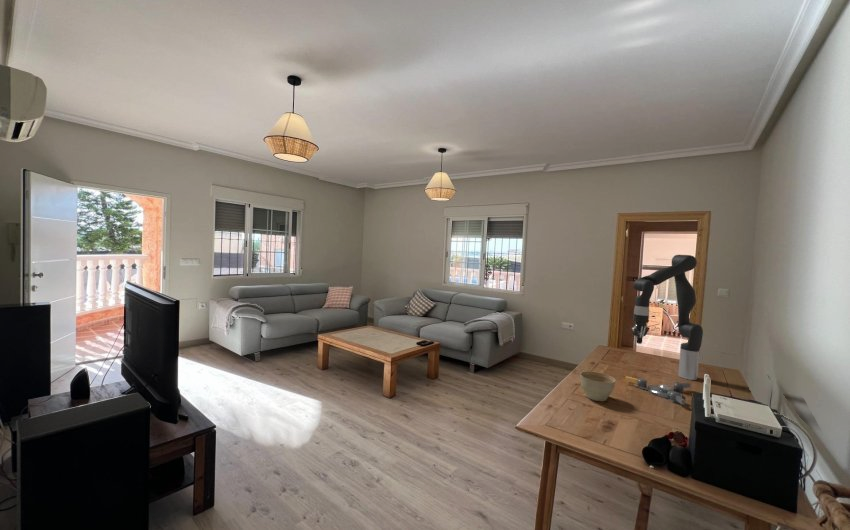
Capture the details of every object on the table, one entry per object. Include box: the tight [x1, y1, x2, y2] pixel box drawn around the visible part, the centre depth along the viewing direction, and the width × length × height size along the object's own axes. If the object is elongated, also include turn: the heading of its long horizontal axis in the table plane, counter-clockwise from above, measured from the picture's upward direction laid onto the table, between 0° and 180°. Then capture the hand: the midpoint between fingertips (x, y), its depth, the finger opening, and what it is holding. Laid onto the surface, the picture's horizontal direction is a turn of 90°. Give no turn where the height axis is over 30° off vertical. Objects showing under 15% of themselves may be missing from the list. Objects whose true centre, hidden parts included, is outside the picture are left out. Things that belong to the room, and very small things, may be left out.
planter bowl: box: [579, 370, 617, 402], centre depth 180 cm, size 16×16×11 cm
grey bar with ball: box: [673, 381, 691, 392], centre depth 194 cm, size 10×4×3 cm, turn 110°
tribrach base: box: [638, 383, 683, 404], centre depth 191 cm, size 21×19×4 cm
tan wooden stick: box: [624, 376, 648, 387], centre depth 199 cm, size 10×4×3 cm, turn 50°
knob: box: [669, 391, 686, 406], centre depth 177 cm, size 10×4×3 cm, turn 170°
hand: (639, 343), depth 208 cm, fingers closed
